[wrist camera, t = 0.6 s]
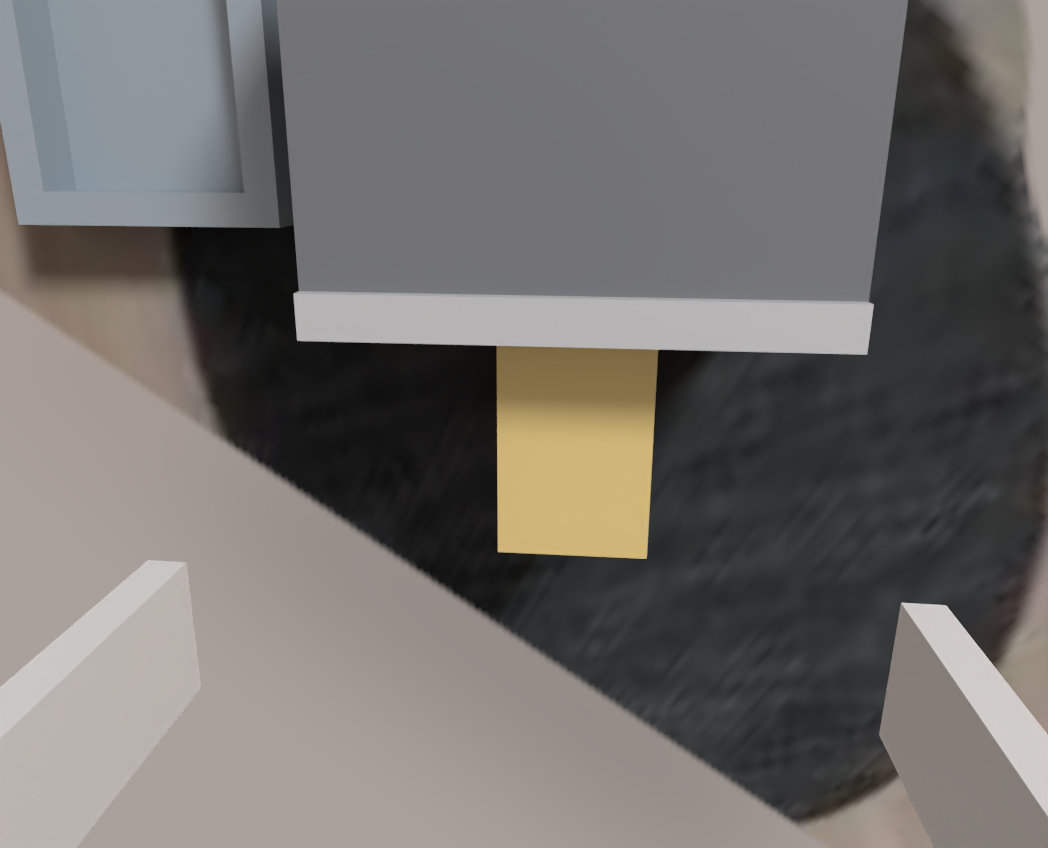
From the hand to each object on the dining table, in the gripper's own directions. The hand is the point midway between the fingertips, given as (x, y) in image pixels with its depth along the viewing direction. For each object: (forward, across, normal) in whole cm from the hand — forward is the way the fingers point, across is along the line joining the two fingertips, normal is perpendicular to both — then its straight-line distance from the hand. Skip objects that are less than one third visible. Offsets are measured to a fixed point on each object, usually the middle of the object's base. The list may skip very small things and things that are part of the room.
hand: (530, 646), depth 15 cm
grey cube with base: (+19, 0, +11) cm, 22 cm away
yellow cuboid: (+19, 0, +3) cm, 20 cm away
